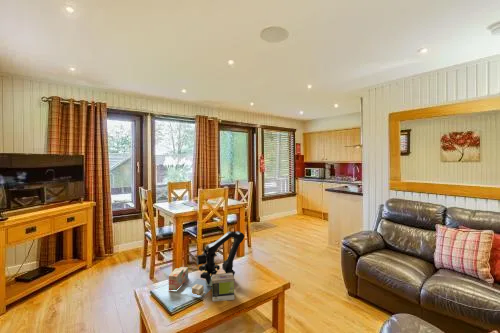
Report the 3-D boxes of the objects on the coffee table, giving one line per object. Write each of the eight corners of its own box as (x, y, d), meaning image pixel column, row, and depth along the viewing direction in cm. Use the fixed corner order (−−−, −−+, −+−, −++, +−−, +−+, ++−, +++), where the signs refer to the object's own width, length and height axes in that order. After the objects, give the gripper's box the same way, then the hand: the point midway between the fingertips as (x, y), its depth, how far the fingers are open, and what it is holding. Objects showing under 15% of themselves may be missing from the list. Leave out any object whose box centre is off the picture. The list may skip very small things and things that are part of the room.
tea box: (232, 292, 177) (233, 272, 176) (234, 300, 167) (234, 278, 167) (211, 294, 174) (211, 273, 174) (212, 302, 164) (212, 280, 164)
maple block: (203, 292, 175) (203, 285, 175) (198, 296, 170) (198, 289, 170) (196, 290, 178) (196, 283, 177) (191, 294, 172) (191, 287, 172)
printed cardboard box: (180, 278, 198) (180, 263, 197) (188, 278, 197) (188, 263, 197) (168, 292, 177) (168, 275, 176) (176, 293, 176) (176, 276, 175)
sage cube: (214, 282, 187) (214, 276, 187) (211, 286, 183) (211, 279, 182) (209, 281, 189) (209, 275, 189) (205, 284, 184) (205, 278, 184)
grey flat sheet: (217, 283, 189) (217, 283, 189) (200, 299, 167) (200, 298, 167) (197, 279, 196) (197, 278, 196) (179, 294, 174) (179, 293, 174)
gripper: (207, 256, 197) (207, 275, 197) (194, 265, 180) (194, 286, 180) (220, 258, 193) (220, 277, 193) (207, 267, 176) (207, 289, 176)
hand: (210, 282), depth 186 cm, fingers closed on sage cube, 5 cm apart
